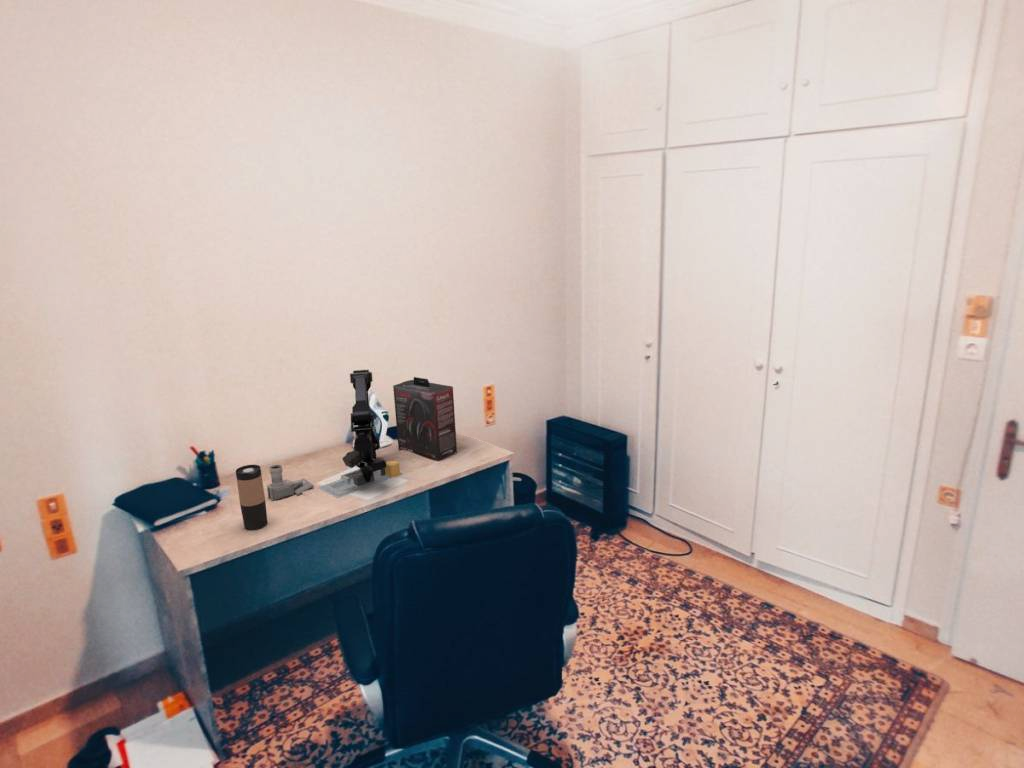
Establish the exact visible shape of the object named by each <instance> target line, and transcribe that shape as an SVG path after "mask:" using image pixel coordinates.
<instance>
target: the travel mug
mask: <svg viewBox="0 0 1024 768" xmlns="http://www.w3.org/2000/svg"><path fill="white" fill-rule="evenodd" d="M235 475H236V482H237V485H236V486H237V492H238V498H239V500H238V501H239V505H240V510H241V516H242V522H243V527H244V529H245V530H247V531H256V530H257V531H258V530H260V529H263V528H265V527H266V526H267V525H268V514H267V505H266V495H265V488H264V482H263V475H262V469H261V465H258V464H247V465H242V466H240V467H238V468H236V470H235Z"/></svg>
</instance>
